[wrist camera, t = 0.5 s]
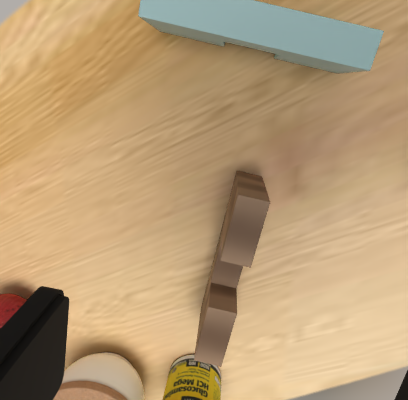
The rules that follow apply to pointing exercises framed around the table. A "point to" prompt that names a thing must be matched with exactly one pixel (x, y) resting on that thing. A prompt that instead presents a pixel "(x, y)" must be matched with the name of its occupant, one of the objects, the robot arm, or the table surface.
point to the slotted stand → (230, 265)
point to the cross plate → (268, 31)
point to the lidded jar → (101, 379)
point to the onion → (9, 306)
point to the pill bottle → (193, 380)
